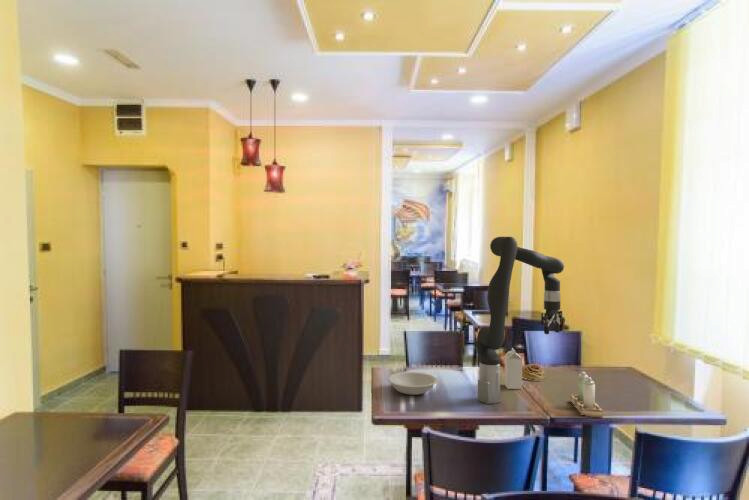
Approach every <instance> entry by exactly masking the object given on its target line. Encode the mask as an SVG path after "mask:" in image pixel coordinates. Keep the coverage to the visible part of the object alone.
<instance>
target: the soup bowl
mask: <svg viewBox="0 0 749 500" xmlns="http://www.w3.org/2000/svg"><path fill="white" fill-rule="evenodd" d="M438 380H439V379H438V378H437V377H436V376H435V375H433V374H430V373H426V372H418V371H402V372H396V373H393V374H390V375H389V376H387V381H388V383H390V384H391V386H392V387H393V388H394V389H395V390H396V391H398V392H399V393H401V394H405V395H411V396H413V395H423V394H425V393H427V392H429V391H430V390H431V389H433V387H434V386H435V385H436V384H437V383H438Z"/></svg>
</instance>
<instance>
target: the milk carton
mask: <svg viewBox="0 0 749 500" xmlns="http://www.w3.org/2000/svg"><path fill="white" fill-rule="evenodd" d="M522 367H523V358H522V357H521V356H520V355H519V354H518V353H517V352H516V350H515V349H514V348H513V347H511V350H509V351H507V352H506V353H505V355H504V386H505V387H506V389H507V390H508V389H509V390H522V389H523V378H522Z"/></svg>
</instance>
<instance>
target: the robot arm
mask: <svg viewBox="0 0 749 500" xmlns="http://www.w3.org/2000/svg"><path fill="white" fill-rule="evenodd" d="M489 246H490V247H489V248H490V251H491V253H492V254H493V255H495V256H496V257H500V258H499V264H498V268H497V270H495V272H494V274H493V276H491V278H490V281H489V284H488V287H487V295H486V299H487V300H486V301H487V306H488V310H489V315H490V318H489V319H490V320H489V326H482V327H480V329H479V331H478V332H477V337H476V344H477V345H476V348H477V356H478V359H479V363H478V364H479V366H478V367H479V368H478V369H479V372H478V374H479V375H478V377H479V378H478V380H477V401H478V402H482V403H484V404H486V405H490V404H494V405H495V404H498V403H500V402H501V357H500V356H499V354H498V353H497V351H496V350H499V349H501V348H502V347H503V344H504V340H505V328H506V315H507V308H508V307H507V306H508V300H509V294H510V286H511V280H512V274H513V269H514V266H515V265H514V264H515V262H516V261H518V262H521V263H524V264H527V265H529V266H531V267H532V268H535V269H536V268H537V269H539V270H540V269H541V273H542V277H543V281H544V292H543V309H544V310H545V312H541V316H540V317H541V318H540V324H541V325H542V326H543V332H544V333H543V334H545V335H549V334H550V325H551V324H552V323H554V324H553V325H554V330H553V331H554V333H560V325H561V324H562V323H563V322H564V321H563V310H561V281H560V279H558V278H556V277H555V274H560V273H562V272H563V271H564V268H565V266H564V262H563V261H562V260H561V259H559V258H556V257H553V256H548V255H545V254H543V253H541V252H538V251H536V250H531V249H527V248H523V247H519V246H518V241H517V240H516V238H515V237H513V236H495V237H494V238H492V240H491V242H490V245H489Z"/></svg>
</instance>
